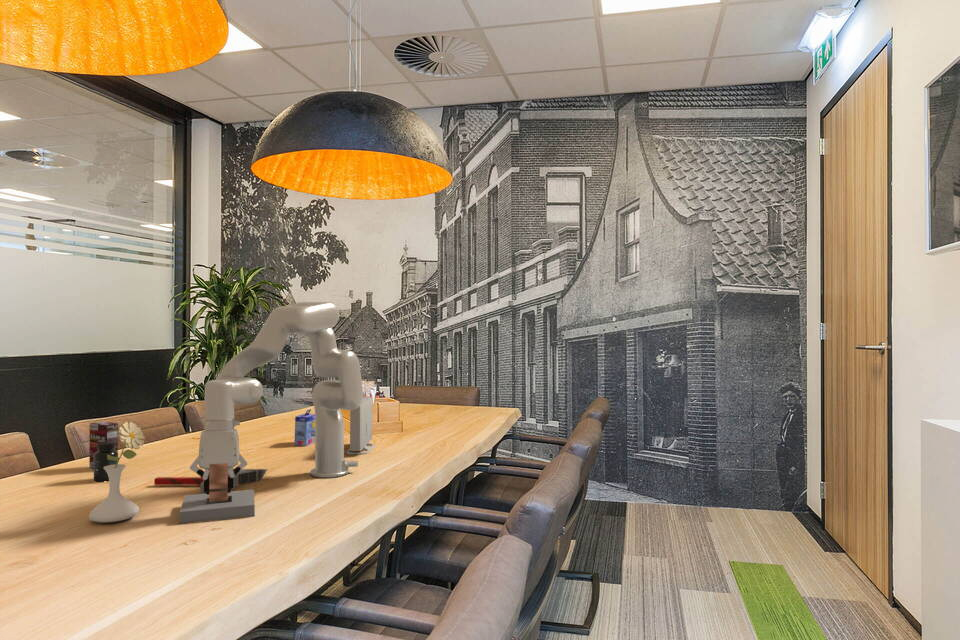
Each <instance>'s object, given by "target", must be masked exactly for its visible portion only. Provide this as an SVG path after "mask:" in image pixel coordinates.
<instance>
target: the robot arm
mask: <svg viewBox="0 0 960 640" xmlns="http://www.w3.org/2000/svg"><path fill="white" fill-rule="evenodd" d="M339 319H340V311H339V308H338V306H336V304H334V303H333V302H330V301H329V302H328V301H326V302H325V301H300V302H297V303H295V302H294V304H292V305H282V306H277V307H275V308H274V309H272V310H271V312H270V314H268V317H267V318H266V320H265V322H264V323H263V325H262V327H261V328H260V330H259V332H258V333H257V335H256V336H255V338H254V340H253V341H252V343H250V344H248V346H246V347H245V348H243V349H242V350H241V351H239V352H238V353H237V354H236V355H234V356H232V358H230V359H229V360H228V361H227V363H225V365H224V366H223V368H222V370H221V371H220V373H219V374H218V376H217V377H216V379H212V380H211V379H210V380H208V381H206V383H204V384H205V385H204V415H203V416H204V417H203V419H204V425H203V427H204V429H203V430H201V432H200V438H199V446H198V456H197V457H196V459H195V460H194V461H193V462H192V463H191V465H190V467H189V470H191V471H193V472H194V473H196V475H198V477H202V478H203V480H204V491H206V495H209V475H208V474H209V471H210V464H223V463H228V471H229V477H228V493H231V491H232V490H234V489H233V478H234V476H235V475H236V474H237V473H238V472H239V471H240V470H241V469H245V468H246V466H248V461H247V460H246V458H244V456H243V455H242V454H241V453H240V445H239V444H240V440H239V432H238V429H237V428H235V427H236V426H240V423H241V421H240V420H238V419H236V418H235V405H252V404H255V403H257V402H258V401H260V399H261V398H262V396H263V394H264V387H263V384H262V383H261V382H260V381H259V380H258V379H255V378H252V377H245V376H247V374H248V373H250V372H251V371H252V370H255V369H256V368H258V367H261V366H263V365H266V364H268V363H270V362H273V361H275V360H276V359H279V356H280V355H281V353H282V351H283V350H284V348H285V346H286V345H287V342H288V341H289V339H290V337H291V336H292V335H294V334H301V335H305V334H306V336H307V337H308V341H309V346H310V354H311V360H312V362H311V363H312V368H313V370H314V371H313V372H314V373H315V375H316V376H318V377H321V378H330V379H326V380H325V379H324V380H321V381H318V382H317V383H316V384H314V386H313V389H312V394H311V396H312V397H311V399H312V403H313V408H314V409H313V410H314V414H315V442H314V443H315V444H314V445H315V446H314V447H315V449H314V468H312V469H311V470H310V471H309V473H310V476H312V477H314V478H320V479H321V478H323V479H327V478H338V477H342V475H343V476H345V474H346V475H347V474H348V473H349V468H357V467H358V466H359V462H358V460H346V459H345V420H344V416H343V413H342V411H341V410H345V411H350V410H354V409H357V408H358V407H359V406H360V405H361V403H362V399H363V397H364V389H363V382H362V380H363V379H362V371H361V365H360V361H359V358H358V356H357V355H356V353H355V352H353V351H351V350H350V349H349V350H348V349H339V348H338V346H337V345H338V344H337V341H336V340H337V339H336V336H335V335H336V334H335V332H334V329H333V328H334V327H336V325H337V324H338V321H339ZM334 379H339V380H334ZM203 469H204V470H203ZM337 476H338V477H337ZM231 489H232V490H231Z"/></svg>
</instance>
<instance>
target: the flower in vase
mask: <svg viewBox="0 0 960 640" xmlns="http://www.w3.org/2000/svg"><path fill="white" fill-rule="evenodd" d="M137 426H138V425H136V423H135V422H134V423H133V421H130V422H129V423H128V422H127V421H124V423H123V424H122V426H120V427H118V437H119V438H120V439H119V440H120V442H122V444H123V447H122V450H121V451H120V452H121V453H120V454H119V456H118V457H113V456H110V455H107V459H108V460H113V461H117V463H116V465H109V466H105V467H104V469H105V471H106V472H107V474H108V477H109V491H108V495H107V497H106V498H105V499H104V500H102V501H101V502H100V503H98V504H97V505H96V506H95V507H94V508H93V509H92V510H91V511H90V512H89V515H88V518H89V519H90V521H92V522H95V523H103V524H104V523H106V524H107V523H116V522H121V521H125V520H127V519H130V518H133V517H135V516H136V515H137V514H138V513H139V511H140V508H139V506H138V505H137V504H136V503H135V502H133V501H131V499H128V498H127V497H125V496H124V495H123V494H122V493H121V491H120V490H121V489H120V483H121V481H120V480H121V475H122V473H123V470H124V469H125V468H126V464H119V462H120V459H121V458H122V456H123V457H125V458H126V459H128V460H131V459H134V458H135V457H136V456H137V453H136V452H135V451H134V450H140V447H141V446H144V444H145V438H146V437H145V435H144V432H143V431H142V430H141V429H142V428H141V427H137ZM125 448H127V449H126V450H125ZM133 449H134V450H133Z"/></svg>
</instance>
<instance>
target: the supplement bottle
mask: <svg viewBox="0 0 960 640" xmlns="http://www.w3.org/2000/svg"><path fill="white" fill-rule="evenodd" d="M114 448H115V442H100V443H98V445H97V449H98V451H97V452H96V453H95V454H94V469H93V481H94V482H95V481H96V482H95V483H105V482H104V481H109V477H108V474H107V472H106V471H105V469H104V467H105V466H109V465H116V463H117V461H113V460H108V459H107V455H110V456H113V457H119V451H118V452H117V451H116V450H114Z"/></svg>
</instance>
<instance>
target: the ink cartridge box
mask: <svg viewBox="0 0 960 640" xmlns="http://www.w3.org/2000/svg"><path fill="white" fill-rule="evenodd" d="M311 411H312V408H311V409H307V410H306V412H305V413H302V414H299V415H296V416H295V417H294V443H293V444H294V446H297V447H299V446H300V447H307V446H309V445H312V444H314V443H315V413H311Z"/></svg>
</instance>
